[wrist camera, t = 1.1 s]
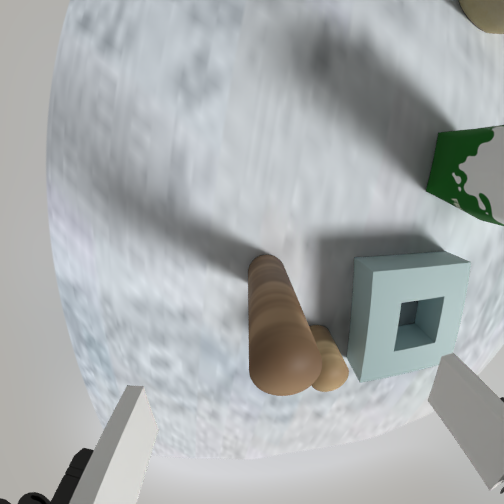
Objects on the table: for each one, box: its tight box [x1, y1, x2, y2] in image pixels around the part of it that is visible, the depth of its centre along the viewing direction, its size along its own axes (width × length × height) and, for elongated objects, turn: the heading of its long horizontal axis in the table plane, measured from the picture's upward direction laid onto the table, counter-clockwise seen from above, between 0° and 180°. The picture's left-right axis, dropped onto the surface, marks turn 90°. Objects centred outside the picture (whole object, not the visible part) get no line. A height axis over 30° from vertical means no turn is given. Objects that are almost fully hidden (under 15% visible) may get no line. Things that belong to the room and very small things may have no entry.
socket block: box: [347, 251, 471, 383], centre depth 28 cm, size 12×12×5 cm
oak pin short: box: [309, 325, 349, 392], centre depth 28 cm, size 4×4×7 cm
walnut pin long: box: [248, 255, 322, 396], centre depth 21 cm, size 4×4×16 cm
